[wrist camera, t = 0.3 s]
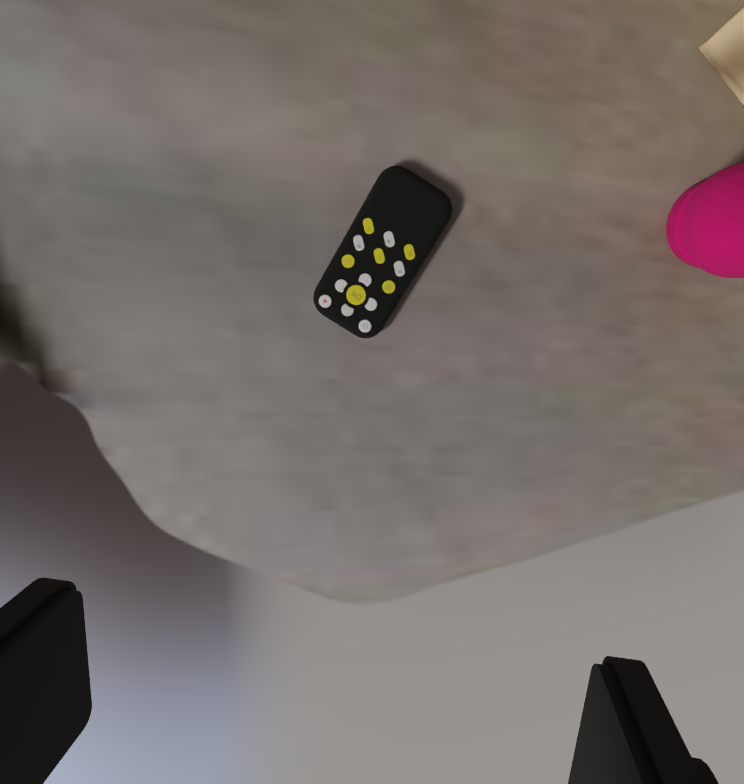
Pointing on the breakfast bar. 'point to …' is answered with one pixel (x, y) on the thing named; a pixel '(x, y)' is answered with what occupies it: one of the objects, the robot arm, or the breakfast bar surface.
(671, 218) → the pepper mill
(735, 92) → the cutting board
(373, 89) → the breakfast bar surface
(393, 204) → the remote control
